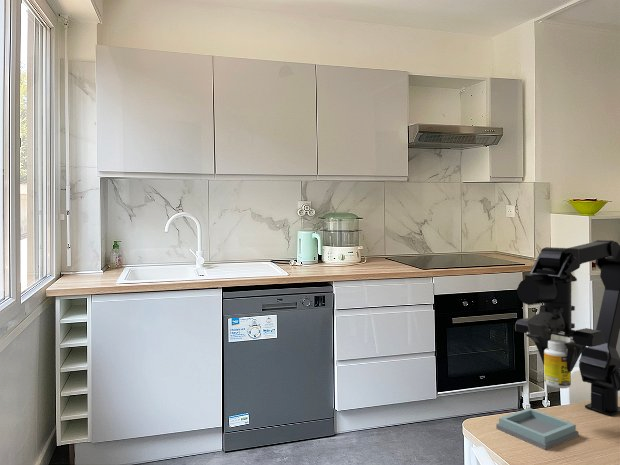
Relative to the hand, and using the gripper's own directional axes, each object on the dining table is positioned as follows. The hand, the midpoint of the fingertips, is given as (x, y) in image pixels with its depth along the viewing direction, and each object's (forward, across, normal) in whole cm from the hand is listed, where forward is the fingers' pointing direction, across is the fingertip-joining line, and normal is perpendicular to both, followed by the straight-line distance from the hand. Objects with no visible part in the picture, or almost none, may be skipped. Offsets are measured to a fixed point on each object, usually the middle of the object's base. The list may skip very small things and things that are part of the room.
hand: (557, 368), depth 109 cm
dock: (+13, 0, -8) cm, 15 cm away
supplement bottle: (+4, 0, 0) cm, 4 cm away
